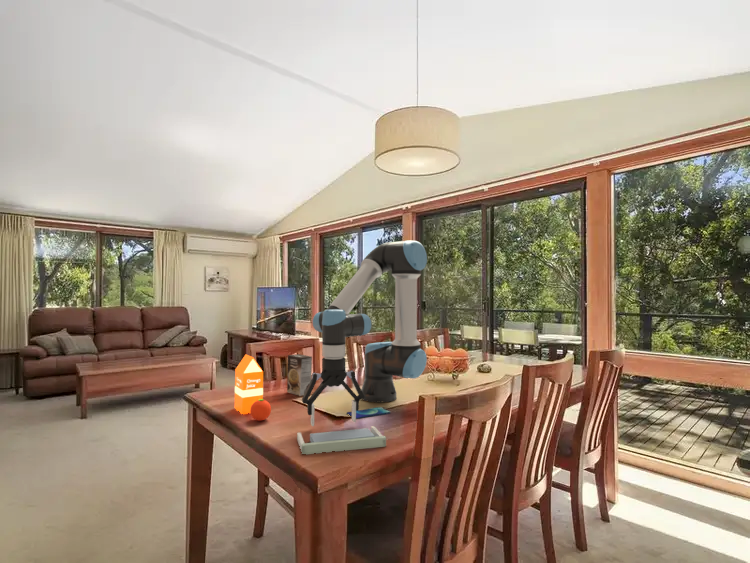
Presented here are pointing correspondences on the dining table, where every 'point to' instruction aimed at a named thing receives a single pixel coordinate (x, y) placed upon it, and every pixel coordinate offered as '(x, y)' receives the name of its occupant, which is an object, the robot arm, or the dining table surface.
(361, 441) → the docking bay
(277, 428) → the dining table surface
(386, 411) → the smartphone
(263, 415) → the clementine
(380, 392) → the robot arm
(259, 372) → the orange juice
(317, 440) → the blue-grey rectangular slab
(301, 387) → the coffee box
